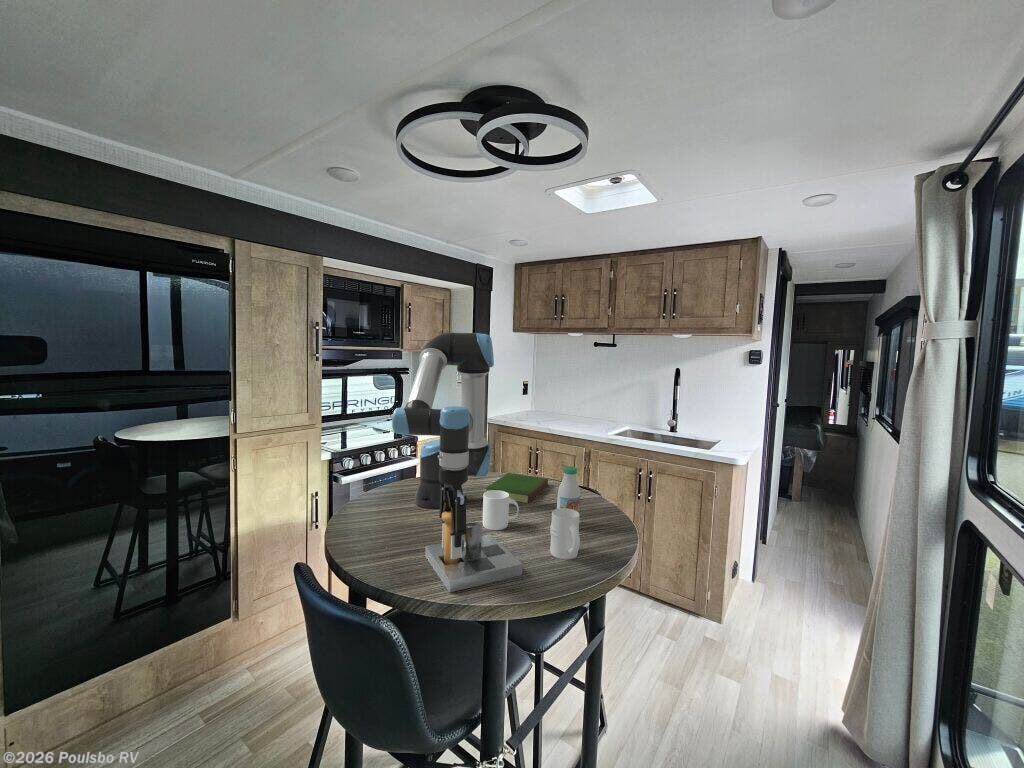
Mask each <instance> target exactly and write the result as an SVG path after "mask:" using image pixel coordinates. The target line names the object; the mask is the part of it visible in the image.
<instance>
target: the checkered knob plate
mask: <svg viewBox="0 0 1024 768" xmlns="http://www.w3.org/2000/svg"><path fill="white" fill-rule="evenodd" d="M482 534H483V524H481V523H480V522H466V534H464V535H463V538H462V557H461V558H459V563H455V564H451V565H446V566H445V565H444V548H442V542H440V543H434V544H430V545H425V549H424V550H425V551H424V552H425V553H424V556H425V558H426V559H428V560H427V561H428V563H429V564H430V566H431V567H432V569H433V570H434V572H435V573H436V574H437V577H438V578H439V579H440V580H441V582H442V584H443V586H444V587H445V588H446V589H447V591H448V593H454V592H457V591H462V590H465V589H469V588H474V587H478V586H482V585H487V584H490V583H494V582H498V581H503V580H507V579H511V578H515V577H519V576H522V575H523V563H522V562H521V561H520V560H519V559H518V558H516V556H514V555H513V554H512V552H510V551H509V550H508V548H506V547H504V545H502V544H501V542H499V541H498V540H497V539H496V538H495V537H494V536H493V535H492V534H491V533H489V534H485V535H482Z"/></svg>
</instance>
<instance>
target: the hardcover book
mask: <svg viewBox="0 0 1024 768" xmlns="http://www.w3.org/2000/svg"><path fill="white" fill-rule="evenodd" d="M548 485H549V479H548V477H547V478H546V477H541V476H540V477H539V476H532V475H526V474H519V473H513V472H512V473H511V472H507V473H506V474H504V475H503V476H501V477H500V478H498V479H497V480H495V481H494V482H492V483H491V484H489V485H488V486H486V487H485V492H487V491H492V490H499V491H504V492H507V493H508V494H509V498H511V499H513V500H515V501H516V502H518V503H519V502H520V503H525V504H530V503H531V502H533V500H535V499H536V498H537V497H538V496H539V495H540V494H541V493H542V492H544V490H545V489H547V488H548ZM536 496H537V497H536Z"/></svg>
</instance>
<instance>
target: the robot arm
mask: <svg viewBox="0 0 1024 768" xmlns="http://www.w3.org/2000/svg"><path fill="white" fill-rule="evenodd" d="M418 362H419V365H418V369H417V371H416V374H415V377H414V380H413V382H412V386H411V389H410V392H409V395H408V397H407V401H406V403H405V406H404V407H403V406H402V407H396V408H395V409H394V410H393V412H392V418H391V419H392V420H391V425H392V430H393V432H394V433H395V434H396V435H402V436H403V435H405V436H432V437H434V436H435V437H439V439H435V440H431V441H427V442H423V444H422V445H421V446H420V454H419V459H420V462H419V483H418V486H417V489H416V493H415V495H414V503H415V505H416V506H418V507H421V508H425V509H439V518H440V519H442V513H443V512H445V511H450V510H451V516H452V528H453V533H450V535H451V559H457V558H461V557H462V539H463V536H464V534H466V524H467V501H468V497H467V495H463V494H464V491H463V486H462V485H463V484H465V483H467V481H468V480H469V479H468V478H469V477H474V478H477V477H485V476H487V475H488V473H489V467H490V463H491V462H490V460H491V455H492V448H493V446H492V445H489V441H488V439H486V437H485V413H486V412H485V407H486V406H485V404H486V403H485V402H486V401H485V399H486V376H487V375H488V374H489V373H490V371H491V370H490V368H493V367H494V366H495V357H494V348H493V341H492V338H491V336H490V335H489V334H486V333H480V332H452V331H451V332H448V331H447V332H443V333H440V334H438V335H436V336H433V338H431V339H430V340H428V342H426V343H425V345H424V346H423V347H422V349H421V351H420V353H419V356H418ZM447 366H453V367H454V366H456V371H457V373H458V374H459V375H460V376H461V381H460V383H461V387H460V388H461V391H460V392H461V395H460V396H461V397H460V398H461V400H460V402H461V404H460V405H461V406H458V405H457V406H445V407H444V406H443V408H441V409H439V408H433V406H434V405H433V404H434V401H435V398H436V394H437V390H438V387H439V383H440V380H441V375H442V373H443V370H445V368H446V367H447ZM441 523H442V528H441V530H442V531H441V532H442V533H441V535H442V536H441V543H442V548H444V530H445V522H444V521H442V520H441Z"/></svg>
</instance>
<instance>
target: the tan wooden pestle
mask: <svg viewBox="0 0 1024 768" xmlns="http://www.w3.org/2000/svg"><path fill="white" fill-rule="evenodd" d="M442 521H444V522H445V530H444V565H445V566H446V565H451V564H455V563H459V558H457V559H451V535H450V533H453V528H452V516H451V510H450V511H445V512H443V513H442V518H441V522H442Z"/></svg>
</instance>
